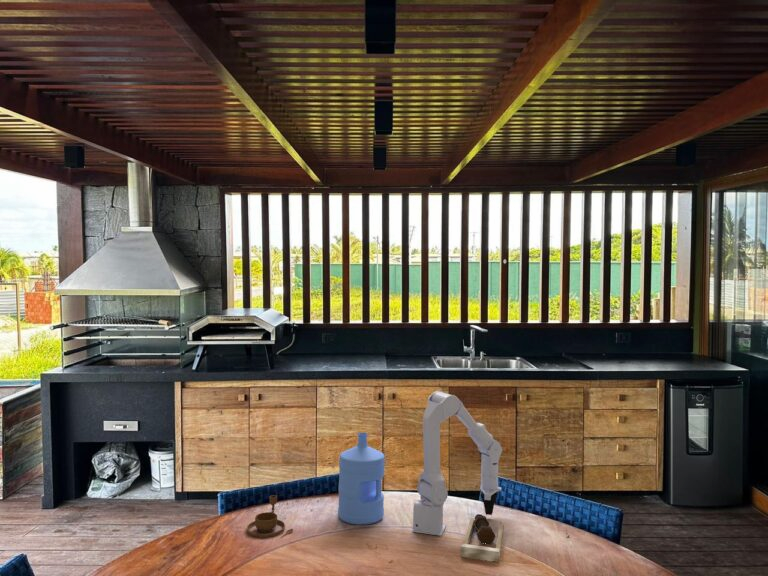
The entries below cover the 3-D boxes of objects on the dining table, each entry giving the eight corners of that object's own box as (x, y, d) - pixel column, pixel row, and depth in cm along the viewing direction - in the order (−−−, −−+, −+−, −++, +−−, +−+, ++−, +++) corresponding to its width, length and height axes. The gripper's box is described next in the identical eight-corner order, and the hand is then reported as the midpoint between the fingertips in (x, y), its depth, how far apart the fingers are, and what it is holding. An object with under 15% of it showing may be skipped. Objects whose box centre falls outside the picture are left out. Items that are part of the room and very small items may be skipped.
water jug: (329, 520, 181) (331, 436, 181) (350, 504, 195) (352, 426, 196) (372, 529, 175) (374, 442, 175) (390, 512, 189) (392, 431, 190)
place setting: (231, 532, 171) (231, 514, 171) (270, 511, 189) (271, 494, 189) (276, 544, 164) (276, 525, 164) (313, 521, 182) (313, 503, 182)
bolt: (481, 529, 181) (488, 549, 166) (468, 521, 181) (474, 540, 166) (490, 514, 181) (498, 532, 166) (477, 506, 181) (484, 523, 166)
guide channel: (460, 556, 157) (460, 546, 157) (470, 524, 180) (470, 515, 180) (498, 562, 154) (498, 551, 154) (503, 528, 177) (503, 519, 177)
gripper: (500, 482, 178) (499, 523, 177) (502, 469, 192) (502, 507, 191) (478, 479, 180) (477, 521, 179) (482, 466, 194) (482, 505, 193)
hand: (488, 514), depth 186 cm, fingers closed
